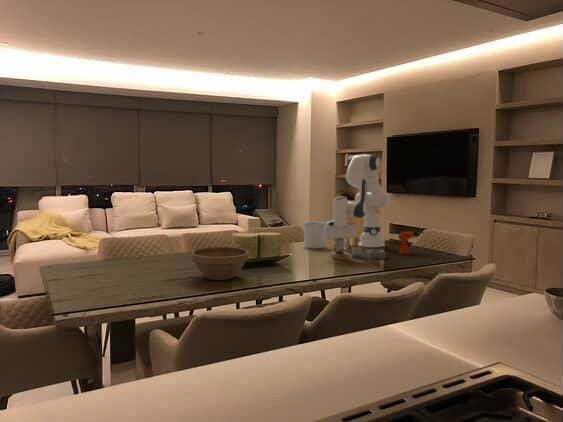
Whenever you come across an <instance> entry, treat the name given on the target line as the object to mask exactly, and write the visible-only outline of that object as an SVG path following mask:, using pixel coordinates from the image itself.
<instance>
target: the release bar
mask: <svg viewBox="0 0 563 422" xmlns="http://www.w3.org/2000/svg"><path fill="white" fill-rule="evenodd" d="M351 251H352V252H351V255H352V256H355V257H361V254H362V248H361V247H352V248H351Z"/></svg>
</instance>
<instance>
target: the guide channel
mask: <svg viewBox="0 0 563 422" xmlns="http://www.w3.org/2000/svg"><path fill="white" fill-rule="evenodd" d="M347 253H348V254H349V258H351V259H352V260H353V259H355V260H356V259H358V260H359V259H361V260H362V259H363V260H364V259H365V256H364V254H362V253H361V257H355V256H352V253H350V252H347Z"/></svg>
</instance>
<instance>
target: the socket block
mask: <svg viewBox="0 0 563 422" xmlns="http://www.w3.org/2000/svg"><path fill="white" fill-rule="evenodd" d="M365 251H366V252H365V254H366V255H365V256H366V257H367V258H368V259H369V260H386V258H387V252H386V251H384V250H383V249H366V250H365Z"/></svg>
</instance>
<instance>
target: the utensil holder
mask: <svg viewBox="0 0 563 422" xmlns="http://www.w3.org/2000/svg"><path fill="white" fill-rule="evenodd" d="M325 226H326V222H325V221H323V222H322V221H304V222H303V243H304V244H303V246H304V248H306V249H323V248H324V247H325V245H324V244H325V237H324V228H325Z"/></svg>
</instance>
